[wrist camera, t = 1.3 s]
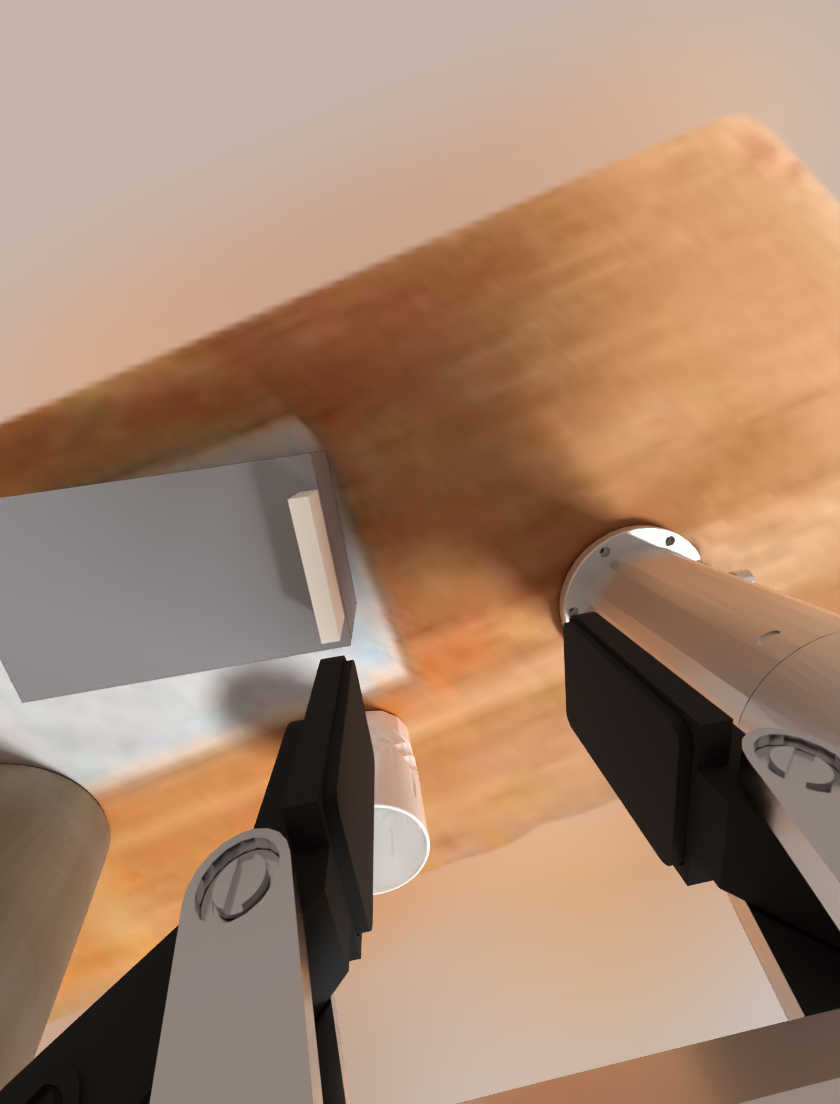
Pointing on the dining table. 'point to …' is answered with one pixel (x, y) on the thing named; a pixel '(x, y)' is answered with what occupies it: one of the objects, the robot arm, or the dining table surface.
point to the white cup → (396, 805)
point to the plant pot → (41, 898)
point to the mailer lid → (166, 577)
